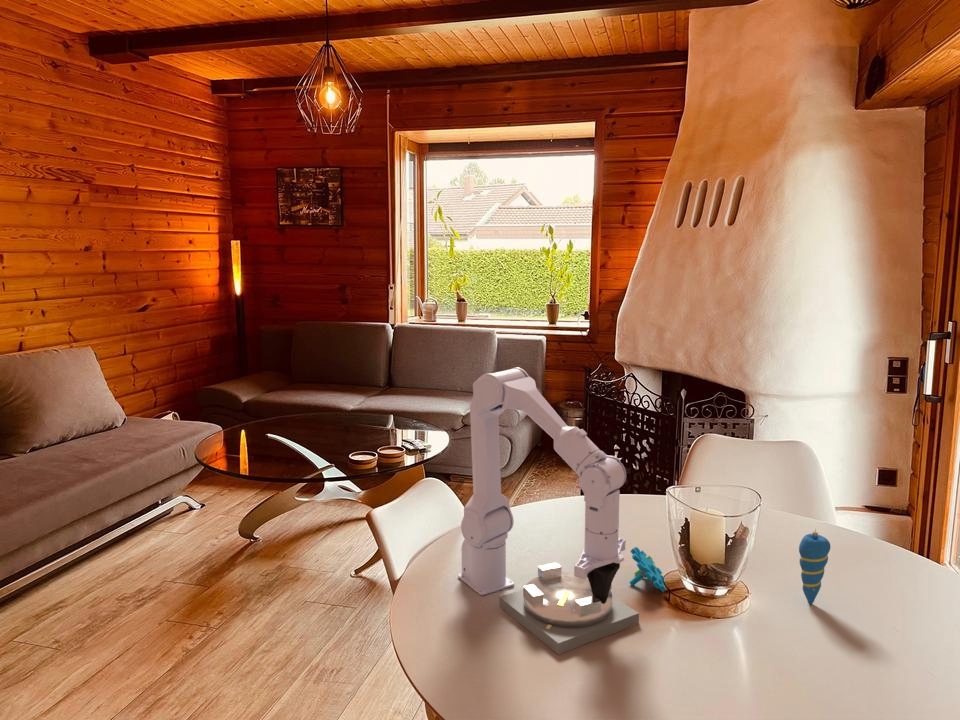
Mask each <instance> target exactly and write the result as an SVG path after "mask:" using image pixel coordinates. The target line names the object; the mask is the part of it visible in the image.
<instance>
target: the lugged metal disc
mask: <svg viewBox="0 0 960 720" xmlns="http://www.w3.org/2000/svg"><path fill="white" fill-rule="evenodd" d="M562 571H563V570H562V566H561V565H560V564H559V563H558V562H552V563H551V562H550V563H547V564H542V565H537V577H535V578H532V579H531V580H529V581H528V582H527V583H526V585H523V586H522V587H523V589H522V590H523V597H524V606H525V608H526V610H527V611H528V613H530V614H531V615H532V616H533V617H535V618H536V619H538V620H540V621H543V622H545V623H548V624H552V625H556V626H563V627H582V626H589V625H593V624H596V623H598V622H601V621H602V620H604V619H605V618H607V617H608V616H609V615H610V613H611V611H612V596H613V592H612V591H611V590H612V586H611V587H610V591H609V594H608V598H607V601H606V603H605V604H602V603H601V601H600V600H599V599H598V598H597V597H596V596H593V594H592V590H591V586H590V583H589V580H588V578H586V579H581V578H578V577H575V576H574V572H562Z"/></svg>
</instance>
